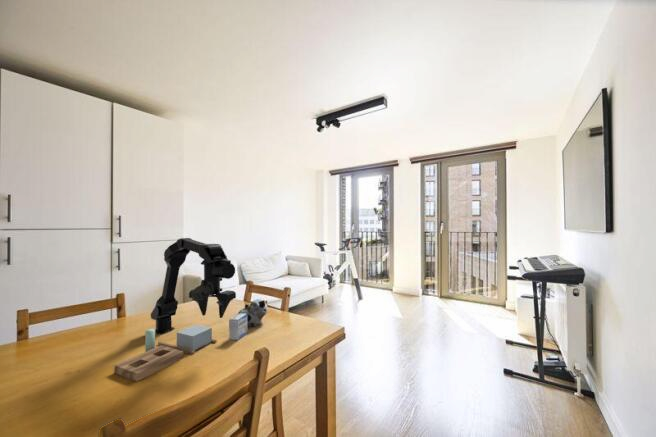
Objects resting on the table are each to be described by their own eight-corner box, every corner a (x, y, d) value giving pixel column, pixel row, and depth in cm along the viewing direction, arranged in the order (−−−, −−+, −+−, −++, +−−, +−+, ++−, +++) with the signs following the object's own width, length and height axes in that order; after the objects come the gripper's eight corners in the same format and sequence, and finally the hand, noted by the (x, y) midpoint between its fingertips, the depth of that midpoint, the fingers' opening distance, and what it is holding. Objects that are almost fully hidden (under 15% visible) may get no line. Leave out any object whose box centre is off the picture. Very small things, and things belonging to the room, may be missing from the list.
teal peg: (143, 355, 102) (143, 331, 102) (151, 351, 105) (151, 328, 105) (148, 356, 101) (148, 332, 101) (156, 353, 103) (156, 329, 103)
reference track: (157, 344, 110) (157, 342, 110) (182, 334, 121) (182, 331, 121) (193, 354, 102) (193, 351, 102) (216, 342, 113) (216, 339, 113)
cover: (176, 346, 108) (176, 332, 108) (196, 337, 116) (196, 324, 116) (192, 350, 104) (192, 336, 104) (211, 341, 112) (211, 327, 112)
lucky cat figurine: (243, 317, 142) (256, 292, 145) (262, 328, 139) (275, 303, 142) (229, 318, 127) (244, 291, 130) (250, 331, 124) (265, 302, 127)
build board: (114, 372, 90) (114, 365, 90) (161, 351, 105) (161, 345, 105) (137, 381, 85) (137, 373, 85) (183, 358, 100) (183, 351, 100)
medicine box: (238, 340, 114) (238, 319, 114) (228, 339, 115) (228, 319, 115) (247, 333, 122) (247, 313, 122) (238, 332, 123) (238, 312, 123)
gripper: (176, 279, 103) (176, 320, 103) (214, 282, 96) (215, 326, 96) (200, 273, 113) (200, 311, 113) (236, 276, 106) (237, 316, 106)
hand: (212, 316), depth 107 cm, fingers open, 8 cm apart
